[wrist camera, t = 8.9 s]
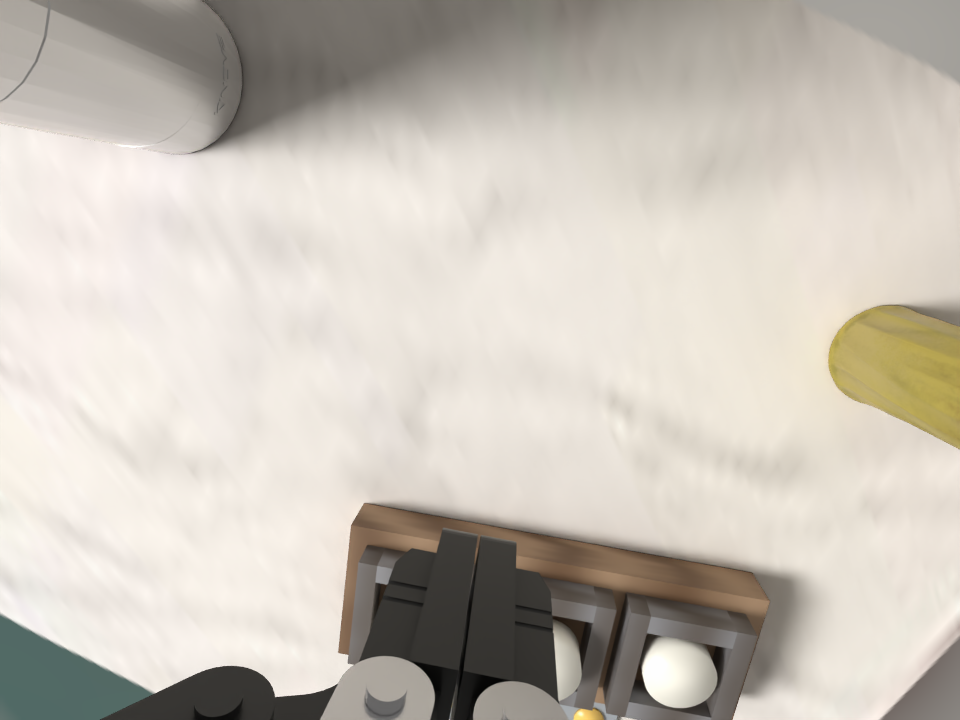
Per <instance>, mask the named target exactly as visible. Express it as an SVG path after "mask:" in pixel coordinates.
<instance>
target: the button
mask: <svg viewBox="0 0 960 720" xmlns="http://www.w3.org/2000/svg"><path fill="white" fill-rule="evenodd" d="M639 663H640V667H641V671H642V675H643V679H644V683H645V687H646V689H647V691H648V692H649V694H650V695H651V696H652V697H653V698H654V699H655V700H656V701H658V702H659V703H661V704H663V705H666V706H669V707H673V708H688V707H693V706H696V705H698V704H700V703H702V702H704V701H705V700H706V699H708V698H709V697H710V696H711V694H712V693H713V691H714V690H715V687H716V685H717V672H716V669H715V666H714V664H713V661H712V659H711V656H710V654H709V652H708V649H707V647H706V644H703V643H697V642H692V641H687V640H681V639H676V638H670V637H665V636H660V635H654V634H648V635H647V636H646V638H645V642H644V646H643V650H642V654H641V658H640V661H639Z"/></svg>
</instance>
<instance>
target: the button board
mask: <svg viewBox="0 0 960 720" xmlns="http://www.w3.org/2000/svg"><path fill="white" fill-rule="evenodd" d="M443 528H447V529H452V530H458V531H463V532H468V533H473V534H478V539H477V546H476V553H475V560H474V567H473V573H474V568H475V563H476V557H477V552H478V547H479V542H480V537H481V535H484V536H489V537H495V538H500V539H505V540H510V541H515V542H516V543H517V552H516V568H518V569H523V570H528V571H533V572H538V573H540V575H541V577H542V578H543V580H544V582H545V583H546V585H547V586H548V588H549V590H550V591H551V602H552V616H553V619H554V620H557V621H559V622H561V623H563V624H565V625H566V626H567V627H569V628H570V629H571V630H572V632H573V633H574V634H575V636H576V638H577V640H578V644H579V652H580V661H581V670H582V676H581V681H580V684H579V686H578V688H577V689H576V690H575V691H574V693H573V694H571V695H570V696H569V697H567V698H565V699H563V700H561V701H559V704H560V705H565V706H570V707H575V708H581V709H586V710H591V711H592V710H593V706H594V702H596V703H601V704H605V708H606V714H612V715H617V716H622V717H627V718H632V719H637V720H732V719H733V716H734V713H735V710H736V707H737V704H738V700H739V697H740V694H741V691H742V688H743V685H744V682H745V678H746V675H747V672H748V669H749V666H750V663H751V660H752V656H753V653H754V650H755V647H756V644H757V641H758V638H759V634H760V631H761V628H762V625H763V622H764V619H765V616H766V612H767V609H768V606H769V603H770V600H769V599H768V597H767V596H766V594H765V592H764V591H763V589H762V588H761V586H760V584H759V583H758V581H757V580H756V578H755V576H754V575H753V573H751V572H745V571H739V570H734V569H728V568H723V567H717V566H711V565H706V564H700V563H695V562H689V561H684V560H678V559H672V558H667V557H661V556H656V555H650V554H645V553H639V552H633V551H628V550H622V549H617V548H611V547H606V546H600V545H594V544H589V543H583V542H578V541H572V540H566V539H561V538H555V537H550V536H544V535H539V534H533V533H527V532H522V531H516V530H511V529H505V528H500V527H494V526H488V525H483V524H477V523H472V522H466V521H461V520H455V519H449V518H444V517H438V516H433V515H427V514H421V513H416V512H410V511H405V510H399V509H394V508H388V507H382V506H377V505H371V504H366V503H364V504H363V506H362V508H361V509H360V511H359V513H358V515H357V516H356V518H355V520H354V521H353V523H352V525H351V532H350V542H349V552H348V561H347V571H346V581H345V591H344V601H343V611H342V621H341V631H340V641H339V651H338V653H342V654H347V655H349V656H348V664H353V665H355V664H357V663H358V662H359V660H360V657H361V655H362V652H363V649H364V647H365V644H366V641H367V638H368V636H369V633H370V630H371V627H372V625H373V622H374V619H375V617H376V614H377V611H378V608H379V606H380V603H381V600H382V599H383V595H384V592H385V589H386V587H387V584H388V582H389V578H390V576H391V573H392V570H393V568H394V565H395V562H396V561H397V560H398V559H399V558H401V557H402V556H403V555H404V554H405V553H407V552H408V551H409V550H410V549H411V548H414V549H419V550H424V551H429V552H434V553H437V549H438V545H439V541H440V537H441V533H442V529H443ZM472 578H473V574H472ZM471 583H472V581H471ZM470 589H471V588H470ZM648 634H654V635H660V636H665V637H670V638H676V639H681V640H687V641H692V642H697V643H703V644H706V647H707V649H708V652H709V654H710V656H711V659H712V661H713V664H714V666H715V669H716V672H717V685H716V687H715V690H714V691H713V693H712V694H711V696H710V697H709V698H708V699H706V700H705V701H704V702H702V703H700V704H698V705H696V706H693V707H688V708H673V707H669V706H666V705H663V704H661V703H659V702H658V701H656V700H655V699H654V698H653V697H652V696H651V695H650V694H649V692H648V691H647V689H646V687H645V683H644V679H643V675H642V671H641V667H640V663H639V661H640V658H641V654H642V650H643V646H644V642H645V638H646V636H647V635H648Z"/></svg>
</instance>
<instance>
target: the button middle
mask: <svg viewBox="0 0 960 720" xmlns="http://www.w3.org/2000/svg"><path fill="white" fill-rule="evenodd" d="M553 633H554V645H555V659H556V673H557V687H558V700H559V701H561V700H563V699H565V698H567V697H569V696H570V695H571V694H573V693H574V691H575V690H576V689H577V688H578V686H579V684H580V681H581V676H582V670H581V661H580V652H579V644H578V640H577V638H576V636H575V634H574V633H573V632H572V630H571V629H570V628H569V627H567V626H566V625H565V624H563V623H561V622H559V621H557V620H554V619H553Z"/></svg>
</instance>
